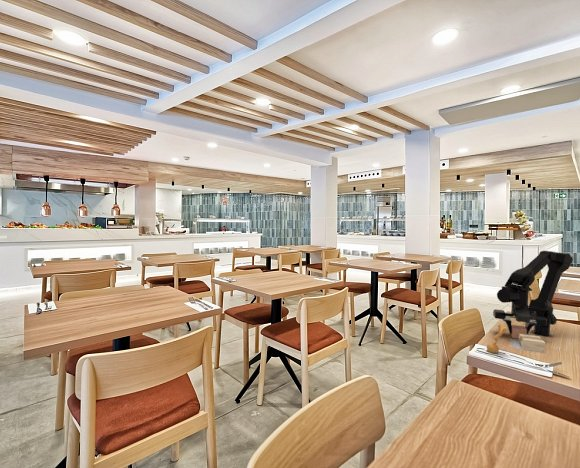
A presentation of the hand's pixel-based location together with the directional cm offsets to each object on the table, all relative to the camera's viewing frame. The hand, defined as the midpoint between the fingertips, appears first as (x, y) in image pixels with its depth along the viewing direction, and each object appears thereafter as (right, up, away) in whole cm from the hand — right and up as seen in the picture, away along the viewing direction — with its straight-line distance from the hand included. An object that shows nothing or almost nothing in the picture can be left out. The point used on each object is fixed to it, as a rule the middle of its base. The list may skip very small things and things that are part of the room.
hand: (517, 335), depth 140 cm
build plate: (-3, -2, -9) cm, 10 cm away
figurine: (-21, -2, -17) cm, 27 cm away
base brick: (-3, -1, -12) cm, 12 cm away
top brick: (0, -1, 0) cm, 1 cm away
